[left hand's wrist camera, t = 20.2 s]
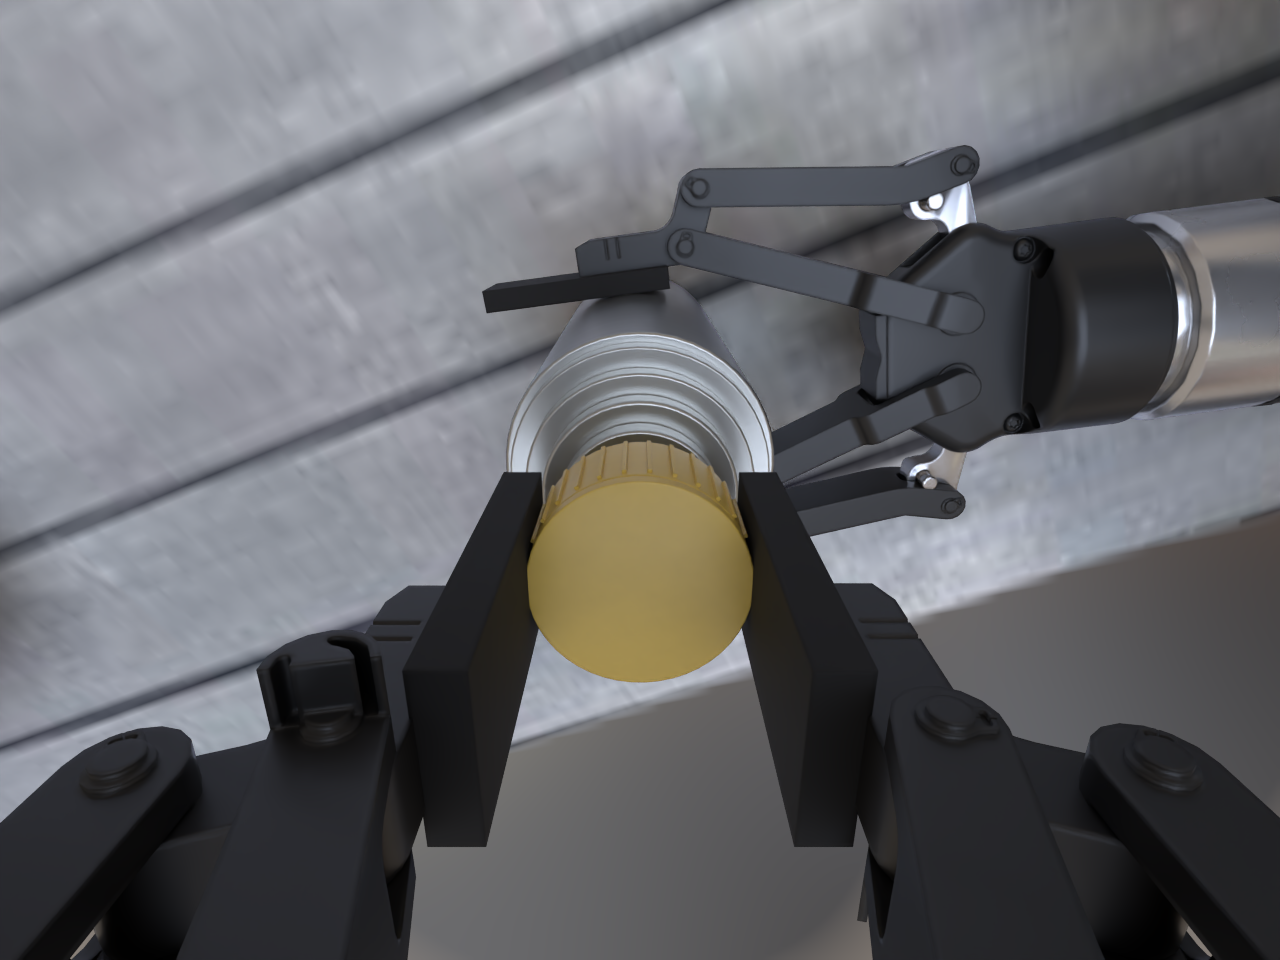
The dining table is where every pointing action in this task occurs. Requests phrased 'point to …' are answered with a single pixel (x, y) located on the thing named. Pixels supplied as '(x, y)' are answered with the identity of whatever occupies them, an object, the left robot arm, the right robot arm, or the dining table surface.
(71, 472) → the dining table surface
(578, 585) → the cap
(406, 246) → the dining table surface
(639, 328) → the bottle
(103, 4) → the dining table surface
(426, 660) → the left robot arm
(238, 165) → the dining table surface
